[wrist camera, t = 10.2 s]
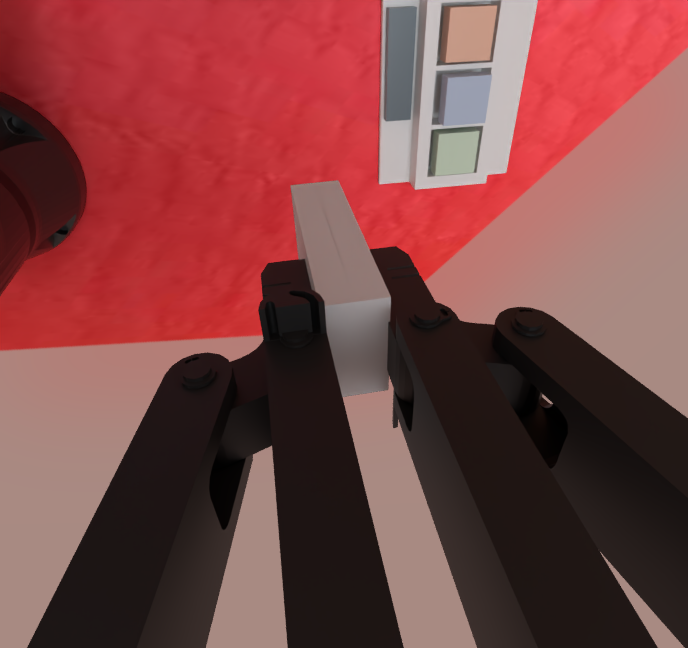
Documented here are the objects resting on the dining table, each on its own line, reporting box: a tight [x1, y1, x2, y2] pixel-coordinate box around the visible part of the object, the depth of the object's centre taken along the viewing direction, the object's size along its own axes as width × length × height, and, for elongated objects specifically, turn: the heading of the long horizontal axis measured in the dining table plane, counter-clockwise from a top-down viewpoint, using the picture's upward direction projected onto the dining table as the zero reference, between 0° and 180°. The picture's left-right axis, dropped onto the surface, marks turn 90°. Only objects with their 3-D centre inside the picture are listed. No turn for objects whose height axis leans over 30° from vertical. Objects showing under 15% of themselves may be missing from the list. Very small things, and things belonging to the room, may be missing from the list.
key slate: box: [438, 72, 492, 126], centre depth 44 cm, size 4×4×2 cm
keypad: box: [378, 0, 538, 190], centre depth 44 cm, size 14×22×3 cm, turn 2°
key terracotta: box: [440, 4, 497, 63], centre depth 42 cm, size 4×4×2 cm
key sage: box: [430, 127, 480, 176], centre depth 48 cm, size 4×4×2 cm
